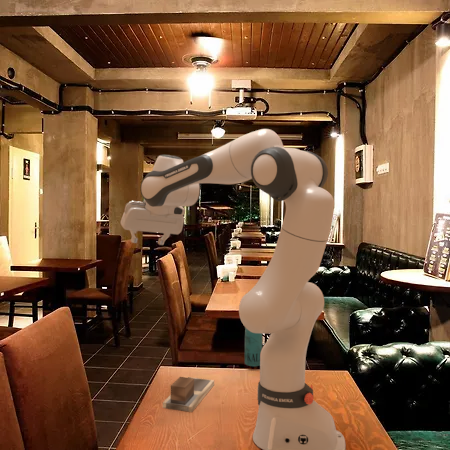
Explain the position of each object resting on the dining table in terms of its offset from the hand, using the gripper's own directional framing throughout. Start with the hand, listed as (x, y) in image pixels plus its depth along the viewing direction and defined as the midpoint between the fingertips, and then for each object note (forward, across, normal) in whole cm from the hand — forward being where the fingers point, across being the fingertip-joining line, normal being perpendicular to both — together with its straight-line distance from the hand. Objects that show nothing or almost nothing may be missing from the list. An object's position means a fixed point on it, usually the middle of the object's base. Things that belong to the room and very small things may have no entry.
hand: (147, 243), depth 145 cm
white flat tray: (+35, +11, -32) cm, 49 cm away
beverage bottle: (+35, +42, -24) cm, 60 cm away
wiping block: (+33, +6, -36) cm, 49 cm away
